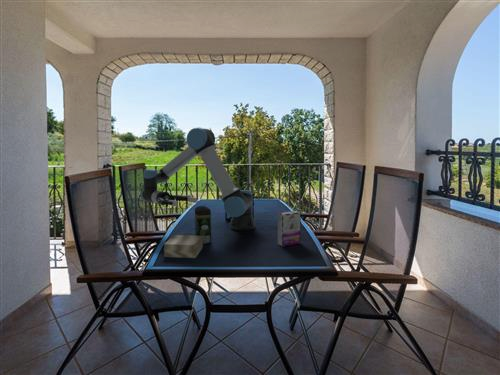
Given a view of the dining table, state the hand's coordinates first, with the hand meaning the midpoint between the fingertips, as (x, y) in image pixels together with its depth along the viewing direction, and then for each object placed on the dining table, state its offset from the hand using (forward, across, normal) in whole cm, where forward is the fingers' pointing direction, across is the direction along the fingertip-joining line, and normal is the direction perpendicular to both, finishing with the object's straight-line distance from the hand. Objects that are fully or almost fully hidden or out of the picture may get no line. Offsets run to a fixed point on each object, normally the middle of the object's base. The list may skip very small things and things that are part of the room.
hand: (187, 202), depth 164 cm
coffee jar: (+13, +1, -20) cm, 23 cm away
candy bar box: (+50, -22, -19) cm, 58 cm away
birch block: (+16, +17, -19) cm, 31 cm away
